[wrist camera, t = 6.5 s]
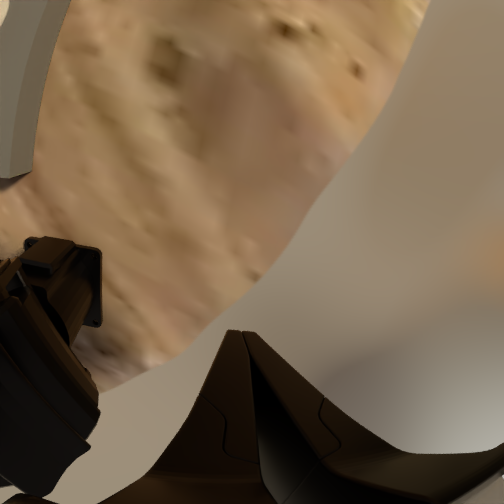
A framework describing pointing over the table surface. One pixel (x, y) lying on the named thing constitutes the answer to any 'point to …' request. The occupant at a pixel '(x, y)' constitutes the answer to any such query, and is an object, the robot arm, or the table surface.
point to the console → (24, 75)
